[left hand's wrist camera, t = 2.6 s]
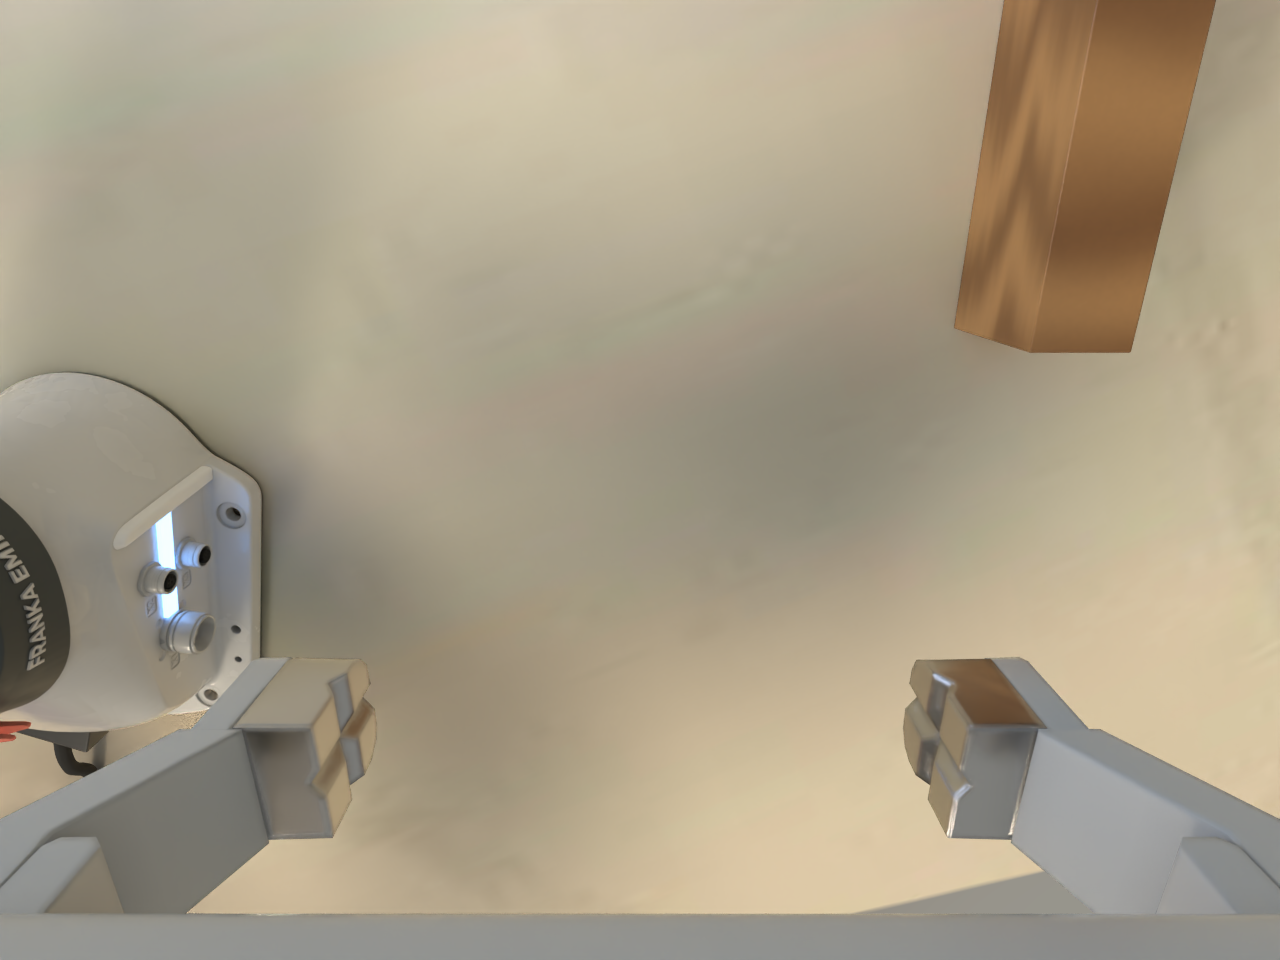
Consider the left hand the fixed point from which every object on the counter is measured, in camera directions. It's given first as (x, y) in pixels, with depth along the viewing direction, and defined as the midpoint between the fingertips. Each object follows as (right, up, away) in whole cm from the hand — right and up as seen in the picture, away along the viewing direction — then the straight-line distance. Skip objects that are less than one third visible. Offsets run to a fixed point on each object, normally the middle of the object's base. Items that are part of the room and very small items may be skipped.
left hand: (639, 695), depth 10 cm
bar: (+19, +24, +23) cm, 39 cm away
